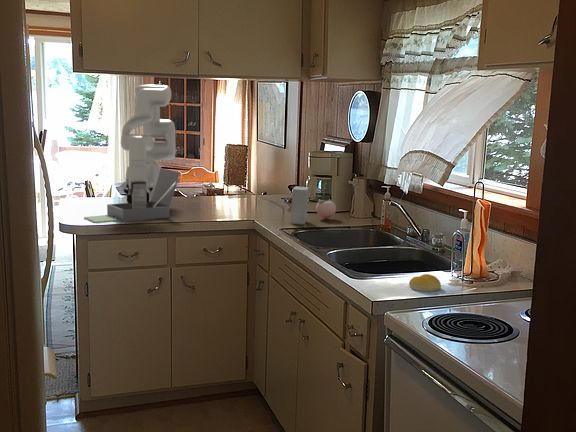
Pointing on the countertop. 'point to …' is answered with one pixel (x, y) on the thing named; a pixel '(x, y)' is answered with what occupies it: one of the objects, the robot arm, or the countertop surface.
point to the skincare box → (299, 205)
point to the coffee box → (138, 195)
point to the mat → (100, 219)
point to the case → (154, 207)
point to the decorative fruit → (326, 208)
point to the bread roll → (425, 283)
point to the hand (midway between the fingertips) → (138, 202)
